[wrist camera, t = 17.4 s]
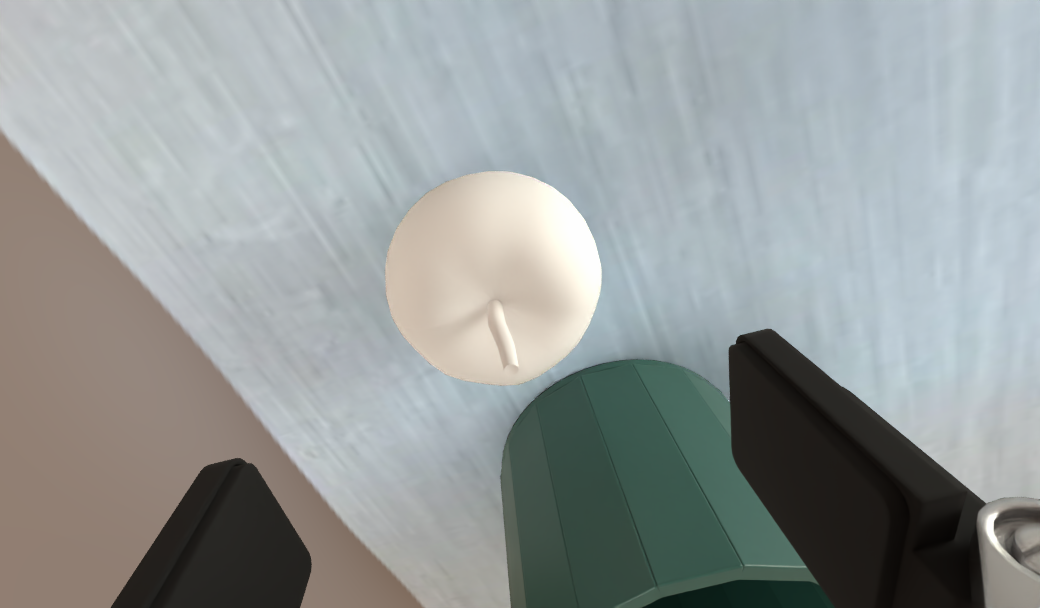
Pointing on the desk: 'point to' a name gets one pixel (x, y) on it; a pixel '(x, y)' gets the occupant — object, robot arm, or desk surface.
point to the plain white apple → (493, 277)
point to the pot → (639, 500)
